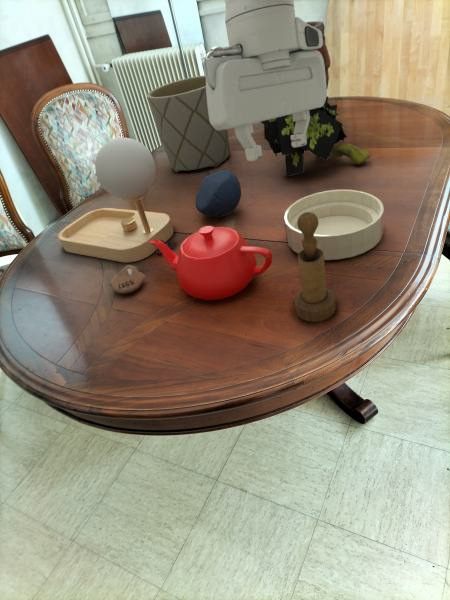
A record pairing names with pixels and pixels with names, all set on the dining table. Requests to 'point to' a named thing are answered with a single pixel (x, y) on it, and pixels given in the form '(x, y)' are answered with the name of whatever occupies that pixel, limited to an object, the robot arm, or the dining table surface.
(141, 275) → the oil lamp
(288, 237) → the bowl
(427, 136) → the dining table surface
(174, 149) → the planter
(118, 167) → the lamp
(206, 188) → the decorative stone
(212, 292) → the teapot
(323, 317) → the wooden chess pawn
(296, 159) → the potted plant
